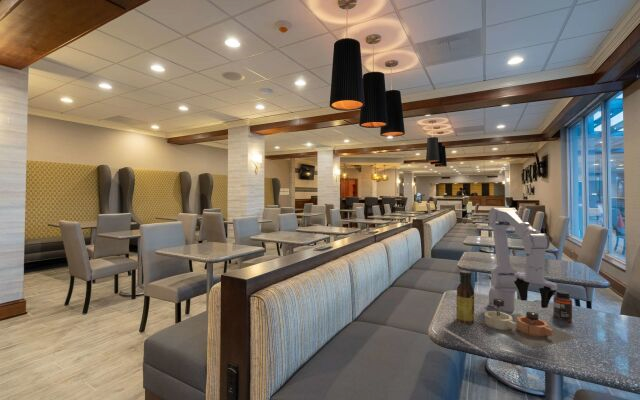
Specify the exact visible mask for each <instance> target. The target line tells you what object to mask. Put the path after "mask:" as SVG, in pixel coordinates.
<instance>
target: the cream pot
mask: <svg viewBox="0 0 640 400" xmlns="http://www.w3.org/2000/svg"><path fill="white" fill-rule="evenodd" d="M483 315H484V319H483V320H485V324H486V325H488V326H490V327H492V328H496V329H501V330H509V329H513V330H516V323H514V322H513V319H512V316H511V315H512V314H508V313H506V312H504V311H500V316H497V310H488V311H487V310H486V311H484V314H483ZM486 325H485V326H486ZM488 326H487V327H488ZM490 327H489V328H490ZM492 328H491V329H492Z"/></svg>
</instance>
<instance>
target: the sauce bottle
mask: <svg viewBox="0 0 640 400" xmlns="http://www.w3.org/2000/svg"><path fill="white" fill-rule="evenodd" d="M459 276H460V277H459V279H460V280H459V282H460V283H459V284H458V286H457V288H456V321H457V322H459V323H461V324H465V325H471V324H472V325H473V324H474V322H475V321H474V320H475V291H474V288H473V285H472V281H471V280H472V272H471V271H469V270H460V271H459Z"/></svg>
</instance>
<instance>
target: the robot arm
mask: <svg viewBox="0 0 640 400" xmlns="http://www.w3.org/2000/svg"><path fill="white" fill-rule="evenodd" d="M487 217H488V223H489V227H490V228H492V232H493V233H492V234H493V241H494V250H495V258H496V265H497V266H495V267H494V268H493V269H492V270H491V272H490V273H491V274H490V275H491V276H490V283H491V286H492V287H490V289H489V291H488V306H489V307H493V308H495V309H496V310H497V306H496V305H494V304H493V299H501V300H504V306H500V312H505V313H506V312H510V313H511V312H512V313H513V312H515V307H516V305H515V303H516V302H515V301H516V300H515V299H516V292H518V293H519V297H520V301H527V299H528V290H529V285H530V284H532V285H533V284H534V285H537V286H540V287H539V288H538V291H539V294H540V299H541V300H540V306H541V308H542V309H546V308H547V309H548V307H549V303H550V301H551V299H552V297H554V296H553V295H554V294H555V293H557V291H558V283H555V282H552V281H549V280H548V279H545V270H546V269H545V267H546V250H548V249H549V248H550V238H549V236H548V235H547V234H546V233H541V232H538V230H537V229H536V228H534V226H532V224H531V223H529V222H524V221H523V220H522V219H521V218H520V216H519V213H518V210H517V209H516V208H515V207H491V208H490V209H489V211H488V214H487ZM512 227H513V228H514V232H515V234H516V235H517V236H518V237H519V238H520V239H521V240H522V244H523V245H522V246H523V250H524V253H525V271H524V272H525V273H524V274H523V273H522V274H521V273H519V272H518V271H517V269H515V268H513V267H512V266H511V258H510V251H509V243H508V237H507V230H508V229H510V228H512Z"/></svg>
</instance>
